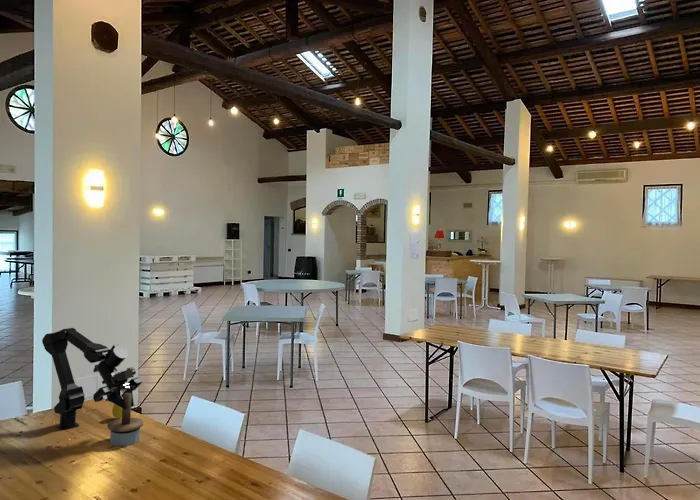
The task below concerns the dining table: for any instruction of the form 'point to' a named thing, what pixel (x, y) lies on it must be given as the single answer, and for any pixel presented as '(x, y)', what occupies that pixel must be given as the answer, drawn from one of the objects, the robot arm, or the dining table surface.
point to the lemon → (117, 411)
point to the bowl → (124, 437)
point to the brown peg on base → (126, 418)
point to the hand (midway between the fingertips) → (129, 407)
